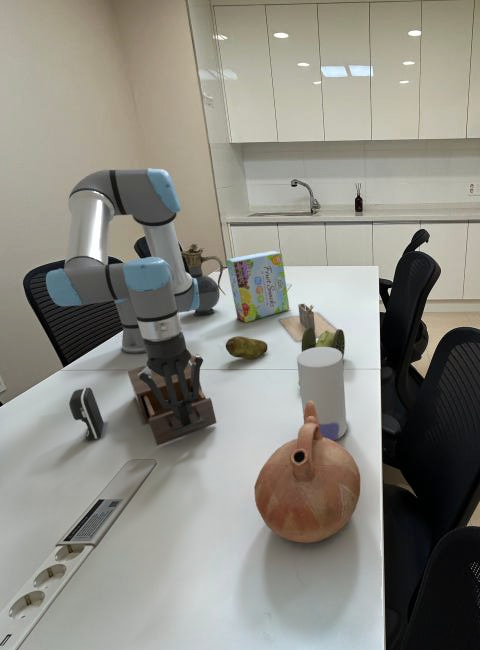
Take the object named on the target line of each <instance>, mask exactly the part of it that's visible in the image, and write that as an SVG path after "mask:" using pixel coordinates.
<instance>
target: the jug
mask: <svg viewBox="0 0 480 650" xmlns="http://www.w3.org/2000/svg"><path fill="white" fill-rule="evenodd" d="M255 480H256V481H255V484H254V486H253V487H254V501H255V506H256V509H257V511H258V513H259V515H260V517H261V518H262V521H263V522H264V524H265V526H267V527H268V528H269V530H270V531H271V532H273V534H275V535H278V536H279V537H281V538H283V539H285V540H287V541H292V542H296V543H300V544H303V543H304V544H315V543H318V542H319V543H320V542H322V541H324V540H326V539H329V538H330V537H332V536H333V535H335V534H336V533H338V532H339V531H340V530H342V529H343V528H344V527H345V526H346V524H347V523H348V522H349V521H350V520H351V518H352V516H353V515H354V513H355V511H356V508H357V507H358V502H359V499H360V494H361V474H360V469H359V467H358V465H357V463H356V461H355V458H354V457H353V456H352V454H351V453H349V451H348V450H347V449H346V448H345V447H344V446H342V445H341V444H339V443H338V442H336V441H335V440H334V441H332V440H330V439H327V438H324V437H322V435H321V433H320V426H319V422H318V418H317V413H316V410H315V406H314V403H313V401H308V402H307V404H306V407H305V412H304V417H303V425H302V426H300V428H299V429H298V434H297V438H295V439H292V440H290V441H288V442H285V443H284V444H282V445H281V446H280V447H278V448H277V449H276V450H275V451H274V452H273V453H272V454H271V455H270V456H269V457H268V458H267V460H266V462H265V463H264V464H263V466H262V468H261V469H260V471H259V474H258V476H257V478H256V479H255Z"/></svg>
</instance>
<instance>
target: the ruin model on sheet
mask: <svg viewBox="0 0 480 650" xmlns="http://www.w3.org/2000/svg"><path fill="white" fill-rule="evenodd" d="M297 307H298V316H293V317H288V318H283V319H279V322H281V324H282V325H283V327H285V329H286V330H287V331H288V332H289V334H290V335H291V336H292V338H293V339H294V340H295V341H296V342H302V338H303V334H304V331H305V330H306V328H313V329H314V331H315V335H316V338H319V337H320V335H321V334H322V333H323V332H325V331H326V330H327V331H329V332H332V333H333V334H334V335H335V332H336V331H337V329H335V328H334V327H333V326H332V325H331V324H330V323H328V322H327V321H326V320H325V319H324V318H323V317H322V316H320V315H319V314H318V313H317V312H315V313H314V311H312V310H313V309H314V308H315V306H313V304H311V305H310V306H308V305H307V304H305V303H298V306H297Z"/></svg>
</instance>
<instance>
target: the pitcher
mask: <svg viewBox="0 0 480 650" xmlns="http://www.w3.org/2000/svg"><path fill="white" fill-rule="evenodd" d="M187 249H188V250H182V251H181V250H180V252H181V256H182V257H183V258H184V259H185V261H186V265H187V267H188V271H189V274H190V276H191V277H192V278H195V279H196V280H197V284H198V291H199V307H198V308H197V309H196V310H194V315H195V316H207V315H210V314H212V313H214V311H215V310H214V309H213V308H214V307H215V306H217V304H218V303H219V300H220V295H221V294H220V293H222V294H224V295H226V293H225V292H224V291H223V289H222V288H221V286H220V283H221V279H222V275H223V271H224V264H223V261H222V260H221V259H220V257H218V255H217V256H216V255H208V256H206V257H205V256H202V253H204V250H205V248H202V247H201V248H199V249H198V244H197V243H192V244H191V245H190V246H187ZM209 260H215V261H217V262H218V263H219V266H220V268H219V271H220V272H219V275H218V279H217V282H216V281H215V280H214V279H213V278H212V277H210V276H209V275H206V274H203V270H202V264H203V263H204V262H208V261H209ZM220 291H221V292H220Z"/></svg>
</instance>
